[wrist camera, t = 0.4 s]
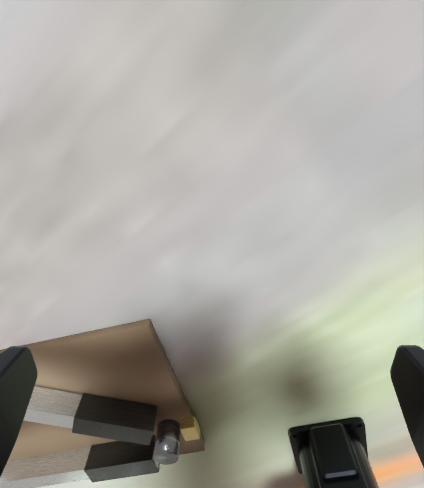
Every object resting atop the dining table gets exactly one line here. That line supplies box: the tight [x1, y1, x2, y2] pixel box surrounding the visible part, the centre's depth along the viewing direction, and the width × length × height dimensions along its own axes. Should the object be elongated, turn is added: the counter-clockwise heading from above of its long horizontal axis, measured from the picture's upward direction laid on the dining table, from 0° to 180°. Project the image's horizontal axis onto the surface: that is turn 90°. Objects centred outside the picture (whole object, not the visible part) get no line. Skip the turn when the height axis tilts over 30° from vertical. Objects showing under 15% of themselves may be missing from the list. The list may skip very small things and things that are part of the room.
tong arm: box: [24, 386, 157, 445], centre depth 28 cm, size 2×14×2 cm, turn 74°
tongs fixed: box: [0, 416, 200, 488], centre depth 31 cm, size 4×18×3 cm, turn 105°
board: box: [0, 319, 204, 460], centre depth 31 cm, size 15×20×1 cm
